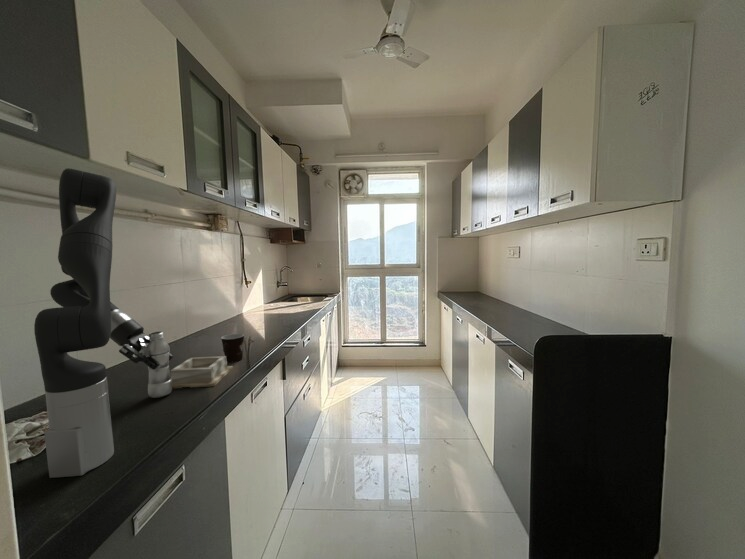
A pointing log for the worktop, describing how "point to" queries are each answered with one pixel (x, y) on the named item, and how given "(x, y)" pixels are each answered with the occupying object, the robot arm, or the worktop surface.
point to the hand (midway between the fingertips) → (164, 363)
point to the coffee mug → (233, 347)
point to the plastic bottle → (160, 376)
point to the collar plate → (200, 372)
